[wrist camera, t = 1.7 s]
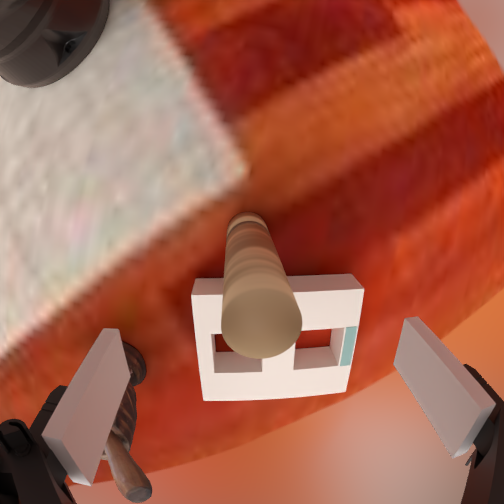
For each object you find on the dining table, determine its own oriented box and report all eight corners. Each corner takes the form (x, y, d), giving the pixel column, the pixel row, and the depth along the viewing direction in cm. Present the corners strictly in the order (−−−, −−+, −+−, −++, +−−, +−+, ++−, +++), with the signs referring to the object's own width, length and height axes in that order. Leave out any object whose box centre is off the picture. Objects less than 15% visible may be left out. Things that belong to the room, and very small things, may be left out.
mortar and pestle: (146, 316, 35) (88, 455, 16) (185, 369, 38) (163, 510, 19) (78, 346, 36) (11, 461, 17) (117, 393, 39) (75, 511, 20)
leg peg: (226, 212, 32) (218, 290, 15) (267, 211, 32) (305, 288, 15) (227, 250, 33) (222, 359, 16) (266, 249, 33) (299, 356, 16)
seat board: (195, 278, 34) (191, 295, 30) (351, 273, 35) (364, 289, 31) (205, 379, 38) (203, 401, 34) (337, 372, 39) (345, 392, 35)
